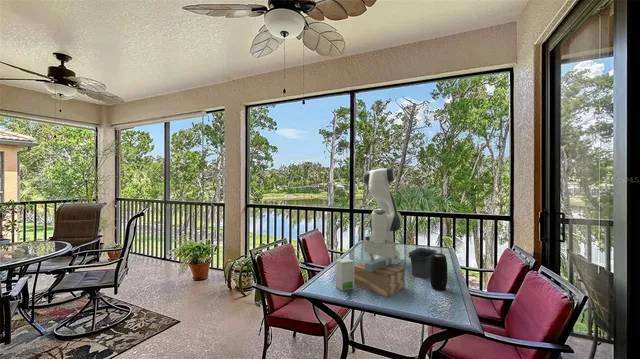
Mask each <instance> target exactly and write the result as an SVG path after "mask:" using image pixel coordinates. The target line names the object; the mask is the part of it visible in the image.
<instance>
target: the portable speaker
mask: <svg viewBox="0 0 640 359" xmlns="http://www.w3.org/2000/svg"><path fill="white" fill-rule="evenodd" d="M429 281H430V286H431V288H432V290H435V291H439V290H443V291H446V289H447V283H448V261H447V256H446V255H445V254H444V253H441V252H440V253H439V252H437V254H431V261H430V275H429Z"/></svg>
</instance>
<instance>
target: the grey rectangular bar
mask: <svg viewBox="0 0 640 359" xmlns="http://www.w3.org/2000/svg"><path fill="white" fill-rule="evenodd" d="M386 260H387V259H386V257H382V258H379V259H376V260H375V259H374V260H373V261H370V260H369V261H370V262H367V261H366V262H367V263H365V270H366V271H369V272H373V271H376V270H378V269H381V268H383V267H386V266H389V265H392V264H391V258H390V260H389V262H388V265H385V264H384V262H385V261H386Z"/></svg>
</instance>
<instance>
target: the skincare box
mask: <svg viewBox="0 0 640 359" xmlns="http://www.w3.org/2000/svg"><path fill="white" fill-rule="evenodd" d="M335 262H336V264H335V265H336V267H335V269H336V271H335V272H336V273H335V287H336V289H338V290H340V291H347V290H352V289H353V290H354V266H355V265H354V264H355V263H354V262H355V261H354V260H352V259H350V258H341V259H336V261H335Z"/></svg>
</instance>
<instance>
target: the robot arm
mask: <svg viewBox="0 0 640 359" xmlns="http://www.w3.org/2000/svg"><path fill="white" fill-rule="evenodd" d="M395 173H396V172H394V169H393V168H391V167H386V168H377V169H372V170H366V171H364V172H363V176H362V180H363V182H364V185H366V186H368V193H369V195H370V196H371V197H372V198H374V199H375V203H376V204H377V205H378V207H380V208H375V209H374V210H372V212H371V215H370V216H369V218H368V220H369V224H368V227H369V228H370V229H371V234H370V235H366V236H364V237H363V239H364V241H363V251H364V252H365V253H367V254H368V255H369V258H370V260H371V261H373V260H376V259H379V258H382V257H386V259H387V260H386V261H385V262H384V264H385V265H388V262H389V260H390V258H391V265H394V266H397V265H399V264H400V263H401V262H402V261H404V258H402V257H401V254H400V251H399V250H398V249H397V247H396V246H397V243H396V242H394V232H397V231H398V230H399V229H401V225H402V215H401V213H400V212H398V210H397V207H396V206H397V205H396V202H395V199H394V195H393V193H392V192H391V191H390V190H391V189H390V184H391V183H393V182H394V181H395V178H396V174H395ZM374 255H375V257H374Z"/></svg>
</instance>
